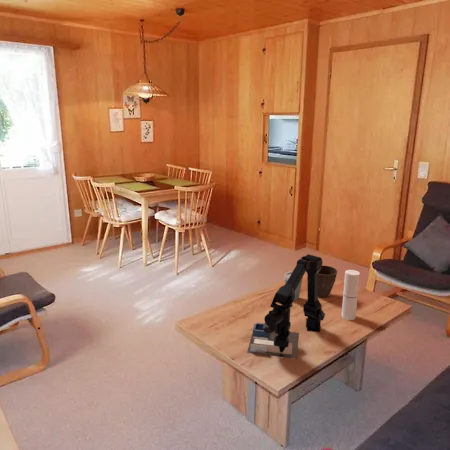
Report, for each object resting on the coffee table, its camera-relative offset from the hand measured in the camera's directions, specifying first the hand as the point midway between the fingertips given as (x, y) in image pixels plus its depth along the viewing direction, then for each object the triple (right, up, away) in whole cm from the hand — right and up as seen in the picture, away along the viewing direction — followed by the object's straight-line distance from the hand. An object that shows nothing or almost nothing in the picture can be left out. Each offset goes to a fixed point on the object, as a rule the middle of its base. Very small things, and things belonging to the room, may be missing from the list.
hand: (281, 349), depth 184 cm
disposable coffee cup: (+13, +13, +53) cm, 57 cm away
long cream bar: (-4, 0, +1) cm, 4 cm away
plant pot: (+32, +14, +58) cm, 67 cm away
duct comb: (-3, +1, +7) cm, 8 cm away
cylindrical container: (+40, +7, +32) cm, 52 cm away
